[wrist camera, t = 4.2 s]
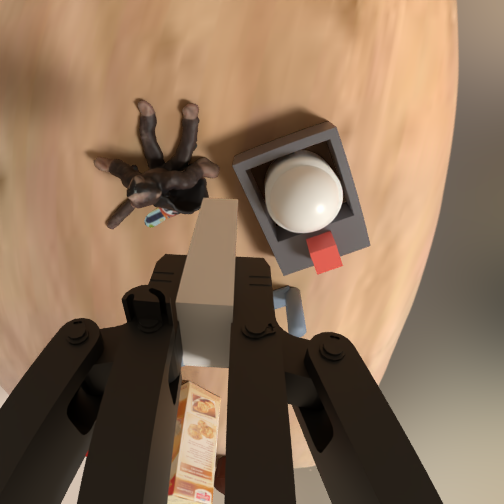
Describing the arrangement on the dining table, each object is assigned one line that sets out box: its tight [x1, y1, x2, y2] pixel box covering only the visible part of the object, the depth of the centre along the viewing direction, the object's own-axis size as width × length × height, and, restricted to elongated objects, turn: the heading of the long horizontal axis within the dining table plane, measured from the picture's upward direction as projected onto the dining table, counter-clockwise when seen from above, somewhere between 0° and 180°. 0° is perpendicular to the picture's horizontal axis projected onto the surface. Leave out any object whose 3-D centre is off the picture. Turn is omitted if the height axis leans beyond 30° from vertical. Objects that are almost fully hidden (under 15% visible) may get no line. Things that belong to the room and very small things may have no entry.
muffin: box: [214, 456, 226, 495], centre depth 63 cm, size 12×11×10 cm
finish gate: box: [181, 286, 306, 367], centre depth 36 cm, size 2×16×6 cm, turn 113°
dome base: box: [232, 121, 370, 276], centre depth 28 cm, size 12×9×5 cm
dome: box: [264, 150, 343, 233], centre depth 26 cm, size 6×6×6 cm
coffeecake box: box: [167, 381, 221, 504], centre depth 42 cm, size 15×7×20 cm, turn 134°
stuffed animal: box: [94, 100, 220, 229], centre depth 29 cm, size 12×10×12 cm
